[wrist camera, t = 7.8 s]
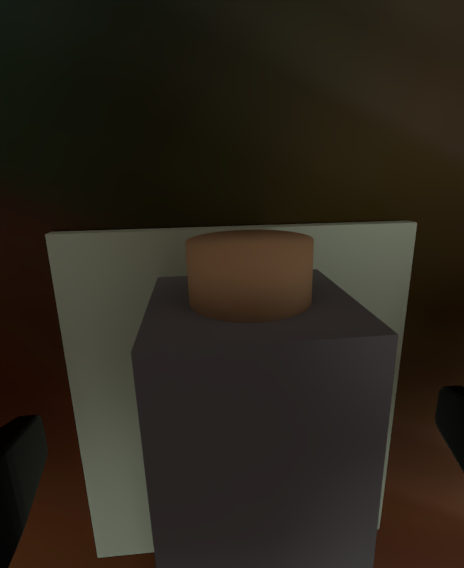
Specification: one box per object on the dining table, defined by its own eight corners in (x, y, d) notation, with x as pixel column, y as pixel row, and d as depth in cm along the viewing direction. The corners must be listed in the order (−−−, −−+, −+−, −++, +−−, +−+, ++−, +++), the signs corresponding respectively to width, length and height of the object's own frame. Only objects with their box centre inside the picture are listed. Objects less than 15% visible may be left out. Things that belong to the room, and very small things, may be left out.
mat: (373, 518, 13) (379, 529, 12) (100, 545, 12) (97, 557, 12) (408, 220, 10) (417, 222, 9) (51, 231, 9) (44, 234, 9)
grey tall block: (302, 643, 14) (344, 828, 10) (191, 658, 13) (189, 855, 9) (318, 221, 9) (406, 257, 5) (153, 228, 9) (121, 272, 5)
